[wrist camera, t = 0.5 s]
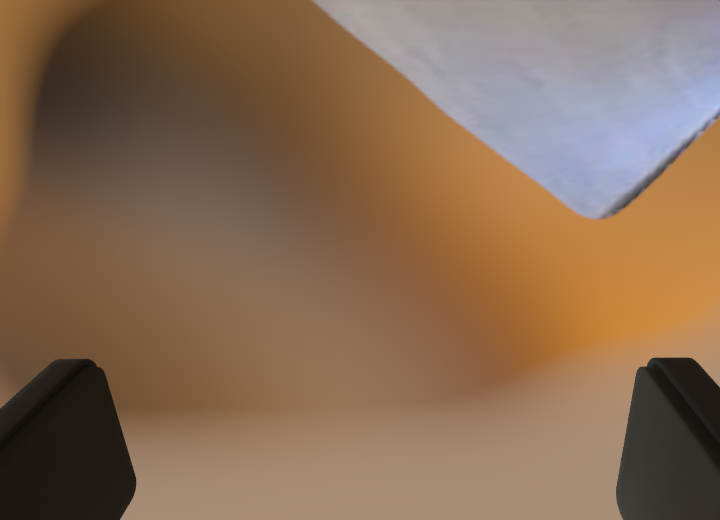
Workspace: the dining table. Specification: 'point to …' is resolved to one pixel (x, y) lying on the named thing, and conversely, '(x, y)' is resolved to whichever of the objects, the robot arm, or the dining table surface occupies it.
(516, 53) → the dining table surface
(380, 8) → the dining table surface
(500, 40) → the dining table surface
